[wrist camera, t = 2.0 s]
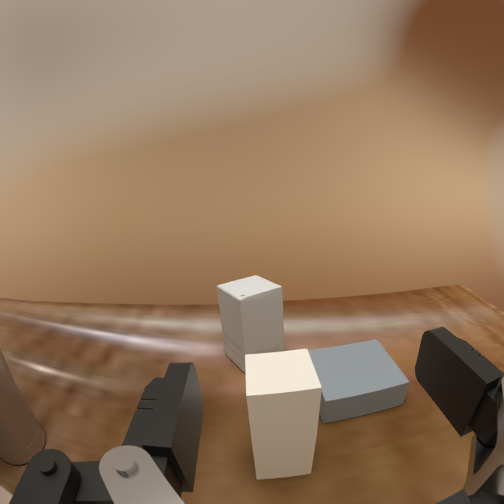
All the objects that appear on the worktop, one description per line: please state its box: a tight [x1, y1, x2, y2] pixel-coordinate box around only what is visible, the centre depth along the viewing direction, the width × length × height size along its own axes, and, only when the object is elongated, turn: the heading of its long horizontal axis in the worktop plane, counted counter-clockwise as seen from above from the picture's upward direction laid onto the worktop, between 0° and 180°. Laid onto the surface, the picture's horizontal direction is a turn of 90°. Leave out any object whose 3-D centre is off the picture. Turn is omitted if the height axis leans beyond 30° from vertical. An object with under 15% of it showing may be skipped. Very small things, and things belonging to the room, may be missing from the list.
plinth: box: [308, 339, 409, 423], centre depth 34 cm, size 11×11×4 cm
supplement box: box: [217, 275, 284, 374], centre depth 44 cm, size 7×7×13 cm
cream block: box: [245, 349, 322, 480], centre depth 23 cm, size 6×6×13 cm
